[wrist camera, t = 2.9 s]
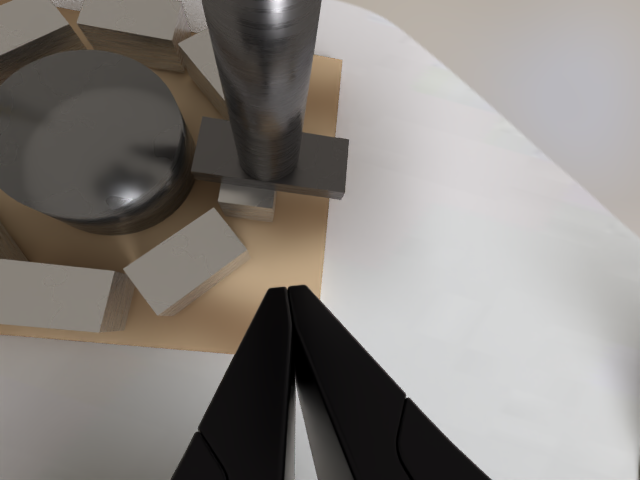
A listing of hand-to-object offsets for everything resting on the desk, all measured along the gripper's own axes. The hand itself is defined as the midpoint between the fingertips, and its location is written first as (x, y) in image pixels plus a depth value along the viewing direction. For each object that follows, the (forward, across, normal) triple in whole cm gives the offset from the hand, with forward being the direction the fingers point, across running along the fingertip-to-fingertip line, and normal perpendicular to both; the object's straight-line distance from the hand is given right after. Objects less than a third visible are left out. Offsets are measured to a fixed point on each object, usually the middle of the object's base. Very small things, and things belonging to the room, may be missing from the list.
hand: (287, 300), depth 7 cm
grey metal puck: (+11, +7, +1) cm, 13 cm away
